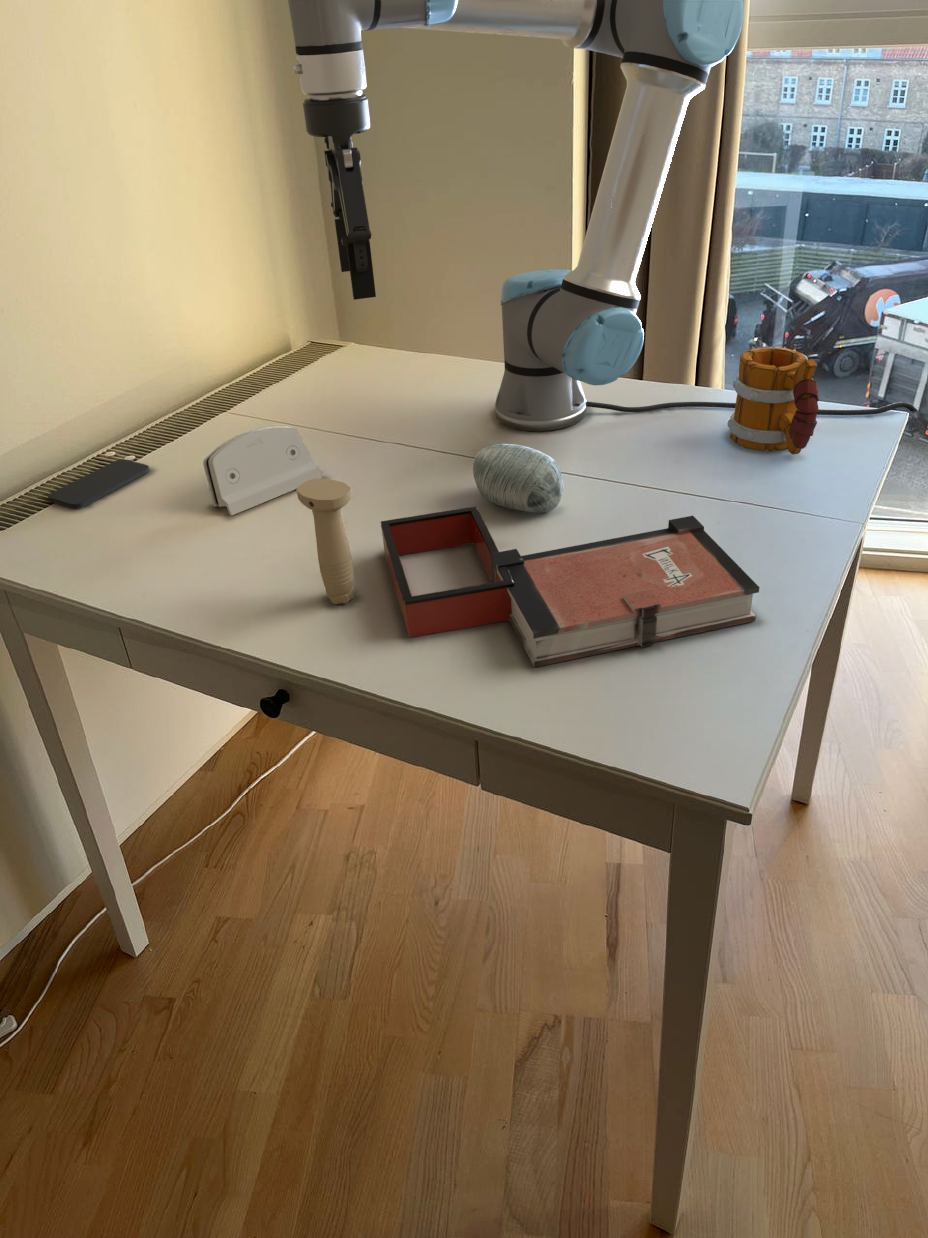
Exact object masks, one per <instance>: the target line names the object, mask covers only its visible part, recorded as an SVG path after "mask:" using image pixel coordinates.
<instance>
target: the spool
mask: <svg viewBox="0 0 928 1238" xmlns="http://www.w3.org/2000/svg"><path fill="white" fill-rule="evenodd" d="M472 474H473V480H474V482H475V486H476V488H477V490H478V491H479V493H480V494H481V496H482V497H484V498H485V499H486V500H487V501H489V502H490V503H493V504H495V505H498V506H500V507H503V508H507V509H511V510H516V511H521V512H527V513H546V512H551V511H553V510H554V509H555V508H556V507H558V505H559V504H560V502H561V501H562V498H563V494H564V481H563V474H562V472H561V469H560V467H559V465H558V463H557V462H556V460H554V458H553V457H551V456H549V455H548V454H546V453H545V452H542V451H540V450H539V449H535V448H532V447H530V446H525V445H522V444H515V443H497V444H492V445H488V446H486V447H483V448H481V450H479V451H478V452H477V453H476V455H475V456H474V459H473V463H472Z"/></svg>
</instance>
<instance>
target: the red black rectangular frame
mask: <svg viewBox="0 0 928 1238" xmlns="http://www.w3.org/2000/svg"><path fill="white" fill-rule="evenodd" d="M380 528H381V535H382V542H383V551H384V556H385V559H386V564H387V566H388V570H389V574H390V577H391V580H392V583H393V587H394V590H395V594H396V597H397V600H398V603H399V607H400V610H401V614H402V617H403V621H404V625H405V628H406V631H407V634H408V637H409V638H415V637H421V636H426V635H434V634H438V633H444V632H449V631H455V630H461V629H466V628H472V627H477V626H483V625H489V624H494V623H500V622H505V621H506V622H507V621H509V614H512V605H511V597H510V595H509V594H508V591H507V588H508V587H513V586H514V582H513V579H512V577H511V575H510V573H509V571H508V569H507V567H506V566H501V567H498V571H499V573H500V575H501V577H502V579H503V581H501V579H500V577H499V576H498V574H497V572H496V579H497V582H493V583H492V573H491V555H490V554H491V553H496V552H500V551H499V548H498V547H497V545H496V543H495V541H494V538H493V537H492V534H491V533H490V531H489V529H488V527H487V525H486V523H485V521H484V519H483V516H482V515H481V513H480V511H479V509H478V508H477V506H476V505H475V506H469V507H462V508H456V509H455V508H454V509H450V510H444V511H443V510H442V511H438V512H432V513H431V512H430V513H425V514H418V515H413V516H406V517H400V518H392V519H388V520H387V519H386V520H381V521H380ZM471 544H472V545H474V548H475V551H476V552H477V554H478V556H479V558H480V560H481V561H480V562H481V563H482V565H483V567H484V569H485V571H486V574H487V576H488V579H489V580H490V582H488V583H482V584H477V585H470V586H464V587H458V588H453V589H447V590H441V591H436V592H435V591H434V592H429V593H425V594H424V593H423V594H418V595H417V594H416V595H412V593H411V590H410V586H409V583H408V580H407V577H406V574H405V570H404V568H403V564H402V562H401V559H400V556H405V555H411V554H416V553H423V552H429V551H436V550H440V549H447V548H453V547H459V546H466V545H471Z"/></svg>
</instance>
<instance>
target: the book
mask: <svg viewBox="0 0 928 1238" xmlns="http://www.w3.org/2000/svg"><path fill="white" fill-rule="evenodd" d="M490 555H491V573H492V582H491V583H493V582H497V579H496V572H497V574H498V576H499V577H500V579H501V581H503V579H502V577H501V575H500V573H499V571H498V567H501V566H506V567H507V569H508V571H509V573H510V575H511V577H512V579H513V582H514V586H513V587H508V588H507V591H508V594H509V595H510V597H511V605H512V614H509V620H508V621H509V623H510V625H511V626H512V628H513V630H514V632H515V634H516V637H518V639H519V641H520V644H521V646H522V647H523V649H524V651H525V653H526V655H527V656H528V659H529V661H530V662H531V664H532V666H533V667H534V668H538V667H542V666H547V665H552V664H553V665H554V664H557V663H562V662H566V661H572V660H575V659H582V658H585V657H590V656H595V655H599V654H605V653H610V652H614V651H618V650H625V649H629V648H633V647H638V646H640V647H641V648H646V647H651V646H654V643H657V642H662V641H666V640H671V639H677V638H681V637H685V636H690V635H694V634H700V633H705V632H709V631H713V630H719V629H723V628H728V627H734V626H738V625H742V624H748V623H751V622H756V616H757V615H756V614H755V613H754V612H753V611H752V604H753V597H754V594H758V593H760V586H759V585H758V584H757V583H756V582H755V581H754V580H753V579H752V577H750V576H749V575H748V574H747V573H746V572H745V571H744V570H743V569H742V567H740V566H739V564H737V563H736V561H735V560H734V559H733V558H732V557H731V556H730V555H729V554H728V553H727V552H726V551H725V550H724V549H723V548H722V547H721V546H720V545H719V544H718V543H717V542H716V541H715V540H714V539H713V538H712V537H711V536H710V535H709V534H708V533H707V532H706V531H705V526H704V525H703V524H702V523H701V521H699V520H698V519H697V518H696V517H695V516H694V515H689V516H683V517H678V518H672V519H668V525H667V527H666V528H662V529H657V530H650V531H646V532H641V533H635V534H630V535H624V536H620V537H614V538H608V539H604V540H598V541H593V542H588V543H582V544H576V545H572V546H567V547H561V548H556V549H550V550H544V551H539V552H535V553H529V554H524V555H521V553H520V552H519V551H518V549H517V548H512V549H507V550H501V551H499V552H496V553H491V554H490Z"/></svg>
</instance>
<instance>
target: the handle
mask: <svg viewBox="0 0 928 1238" xmlns="http://www.w3.org/2000/svg"><path fill="white" fill-rule="evenodd" d="M352 494H353V493H352V487H350V486H349V485H348V484H346V483H345V482H343V481H340V480H338V479H337V480H336V479H332V478H321V479H312V480H309V481H306V482H304V483H303V484H301V485H300V486H299V487H298V488H297V489H296V495H297V499H298V501H299V502H300V503H301V504H302V505H303V506H304V507H305V508H307V509H309V510H311V511H312V516H313V525H314V532H315V542H316V551H317V560H318V565H319V571H320V575H321V579H322V582H323V586H324V588H325V592H326V596H327V598H328V599H329V600H330V602H331V603H332V604H333V605H338V604H344V605H345V604H349V601H351V600H353V599H354V598H355V588H353V587H354V566H353V560H352V554H351V549H350V548H351V547H350V545H349V539H348V536H347V535H348V534H347V531H346V526H345V521H344V516H343V512H342V511H343V510H342V508H343V507H345V506H346V505H348V504H349V503H350V501H352V498H353V497H352V496H353V495H352Z"/></svg>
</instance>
